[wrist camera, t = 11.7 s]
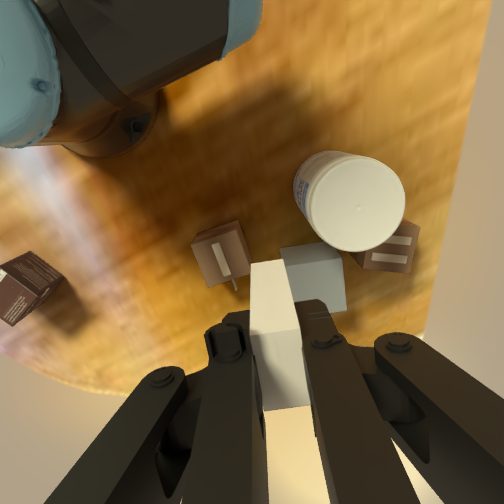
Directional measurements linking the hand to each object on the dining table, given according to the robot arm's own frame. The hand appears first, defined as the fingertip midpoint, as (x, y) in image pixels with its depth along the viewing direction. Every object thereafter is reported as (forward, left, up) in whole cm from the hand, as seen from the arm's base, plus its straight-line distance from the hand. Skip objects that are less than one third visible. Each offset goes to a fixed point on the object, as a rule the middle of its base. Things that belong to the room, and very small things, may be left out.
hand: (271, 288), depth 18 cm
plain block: (+5, -12, -35) cm, 37 cm away
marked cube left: (-6, -8, -35) cm, 36 cm away
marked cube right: (+15, -9, -35) cm, 39 cm away
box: (-34, -7, -35) cm, 49 cm away
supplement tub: (+9, -1, -35) cm, 36 cm away
